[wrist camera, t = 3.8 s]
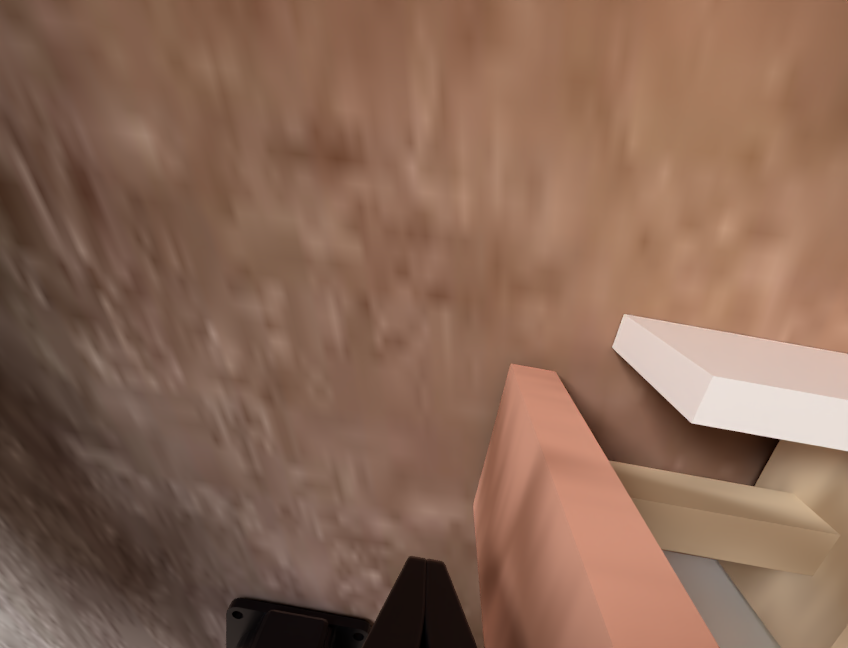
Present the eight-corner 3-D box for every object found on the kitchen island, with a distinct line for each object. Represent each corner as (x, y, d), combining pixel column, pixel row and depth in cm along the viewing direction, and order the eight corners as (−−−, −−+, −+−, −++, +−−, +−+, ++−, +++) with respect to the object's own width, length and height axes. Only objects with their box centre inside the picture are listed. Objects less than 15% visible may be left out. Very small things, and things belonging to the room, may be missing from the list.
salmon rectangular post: (745, 562, 15) (1138, 1051, 6) (470, 513, 15) (501, 935, 6) (836, 410, 13) (1617, 849, 4) (513, 352, 13) (644, 674, 4)
